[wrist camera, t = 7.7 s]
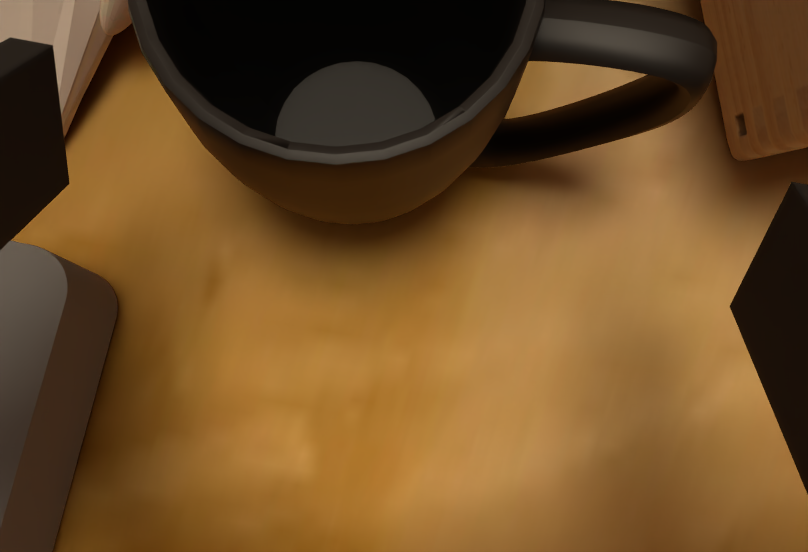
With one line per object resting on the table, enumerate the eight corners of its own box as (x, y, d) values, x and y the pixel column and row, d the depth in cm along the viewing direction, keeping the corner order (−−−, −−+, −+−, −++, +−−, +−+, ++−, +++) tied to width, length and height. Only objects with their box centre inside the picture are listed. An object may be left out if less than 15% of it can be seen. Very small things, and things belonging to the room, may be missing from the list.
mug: (578, 319, 23) (711, 254, 14) (195, 234, 23) (67, 112, 14) (623, 73, 24) (769, -137, 15) (263, -5, 25) (186, -261, 15)
